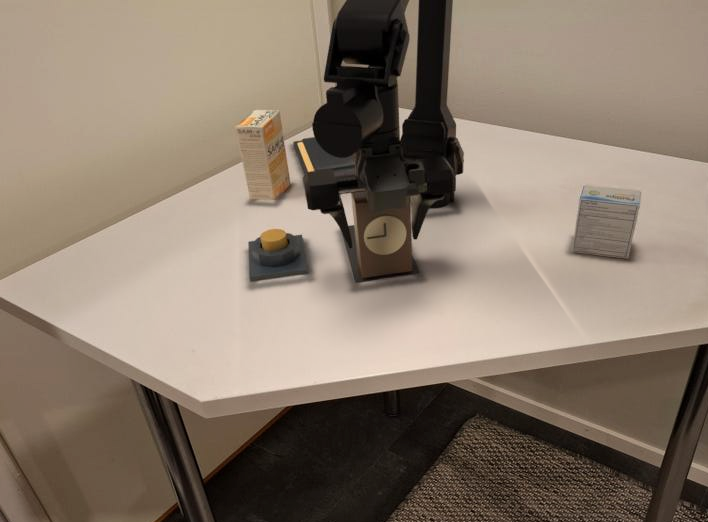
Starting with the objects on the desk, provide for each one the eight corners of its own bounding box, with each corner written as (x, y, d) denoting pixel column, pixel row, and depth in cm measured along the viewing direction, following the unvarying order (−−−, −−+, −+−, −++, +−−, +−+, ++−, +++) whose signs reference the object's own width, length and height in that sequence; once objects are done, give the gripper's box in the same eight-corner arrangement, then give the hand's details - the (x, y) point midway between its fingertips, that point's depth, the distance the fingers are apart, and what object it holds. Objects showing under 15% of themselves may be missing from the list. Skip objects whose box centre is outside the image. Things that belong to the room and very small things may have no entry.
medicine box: (630, 245, 91) (642, 189, 86) (628, 261, 88) (641, 204, 83) (574, 238, 94) (583, 183, 88) (570, 253, 90) (579, 197, 85)
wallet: (388, 164, 112) (303, 175, 110) (388, 174, 113) (304, 185, 111) (366, 126, 127) (291, 135, 125) (367, 135, 128) (293, 144, 126)
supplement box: (276, 205, 106) (262, 127, 97) (249, 203, 107) (233, 126, 98) (292, 184, 112) (280, 109, 103) (267, 182, 113) (253, 108, 104)
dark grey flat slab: (397, 224, 99) (397, 219, 98) (420, 279, 87) (420, 273, 86) (340, 232, 98) (340, 226, 97) (356, 288, 86) (355, 282, 85)
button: (262, 241, 90) (259, 230, 89) (287, 238, 91) (285, 227, 90) (262, 254, 88) (260, 242, 86) (288, 250, 88) (286, 239, 87)
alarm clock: (403, 183, 82) (410, 197, 79) (406, 256, 89) (413, 272, 86) (350, 189, 81) (355, 204, 78) (357, 263, 88) (362, 279, 85)
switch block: (250, 251, 94) (245, 230, 92) (303, 244, 95) (300, 223, 93) (251, 287, 87) (246, 265, 85) (309, 279, 88) (305, 257, 86)
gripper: (302, 160, 67) (319, 283, 77) (470, 141, 70) (466, 263, 80) (295, 125, 76) (311, 240, 86) (445, 109, 78) (444, 223, 88)
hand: (382, 242), depth 85 cm, fingers open, 8 cm apart
